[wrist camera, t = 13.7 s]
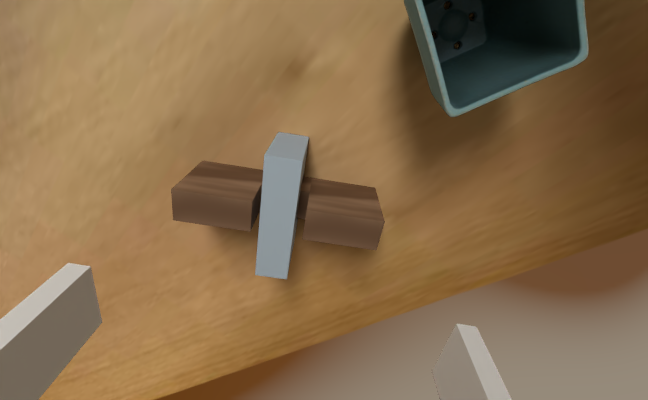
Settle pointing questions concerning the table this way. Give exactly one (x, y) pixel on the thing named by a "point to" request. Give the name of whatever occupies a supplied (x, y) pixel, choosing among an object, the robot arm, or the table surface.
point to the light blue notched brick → (280, 203)
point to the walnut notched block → (245, 201)
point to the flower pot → (494, 46)
